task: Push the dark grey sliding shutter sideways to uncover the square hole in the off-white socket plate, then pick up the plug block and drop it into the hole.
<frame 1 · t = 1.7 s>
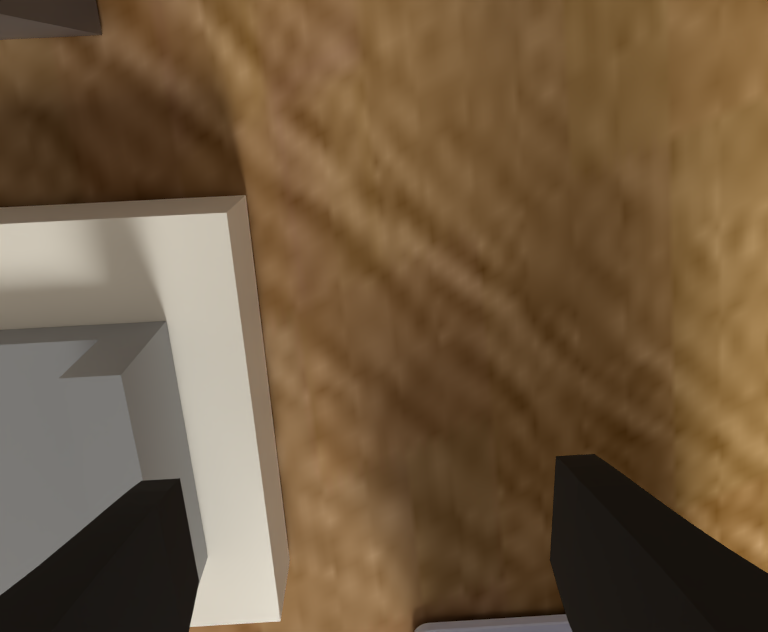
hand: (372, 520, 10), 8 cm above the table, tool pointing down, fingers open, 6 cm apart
socket plate: (83, 408, 18), on the table
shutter: (32, 490, 15), point 4 cm above the table, slide at 0.0 cm
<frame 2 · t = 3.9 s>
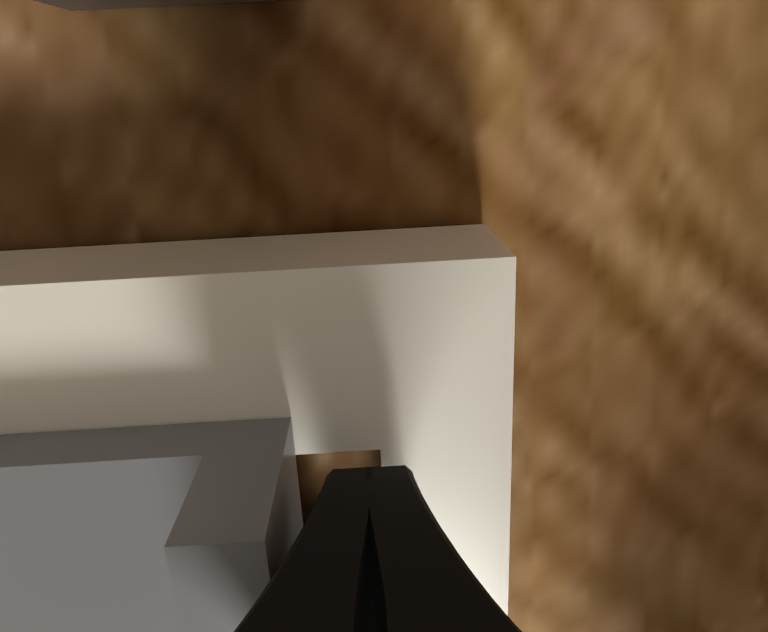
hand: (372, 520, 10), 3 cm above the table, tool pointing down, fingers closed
socket plate: (237, 504, 14), on the table
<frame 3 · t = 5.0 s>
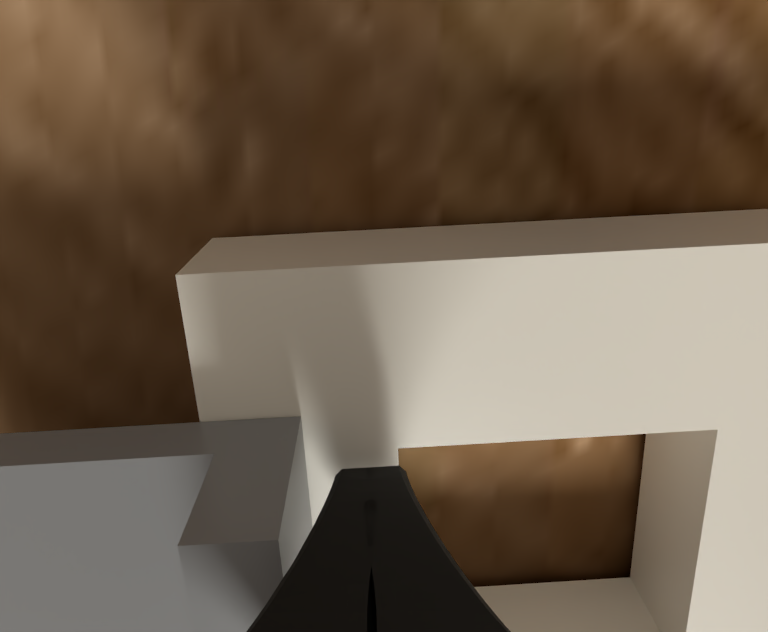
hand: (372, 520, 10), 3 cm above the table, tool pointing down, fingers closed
socket plate: (496, 488, 14), on the table
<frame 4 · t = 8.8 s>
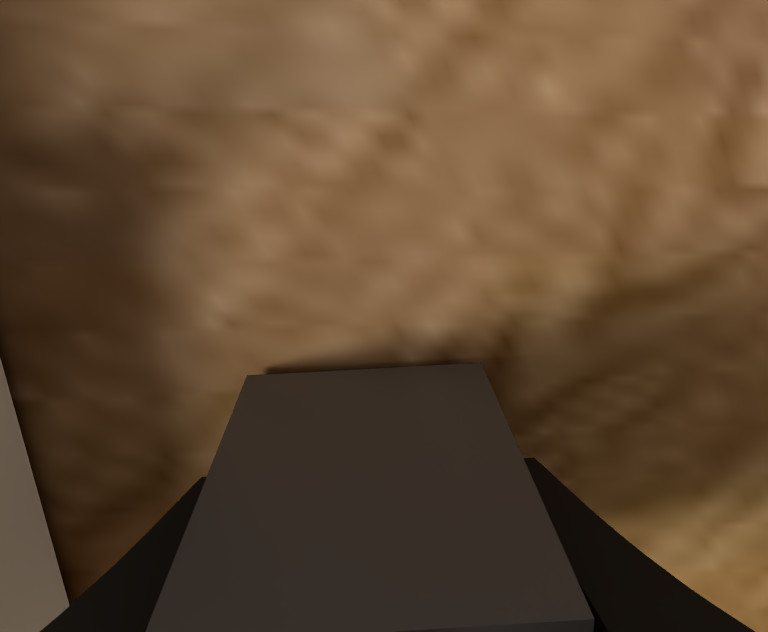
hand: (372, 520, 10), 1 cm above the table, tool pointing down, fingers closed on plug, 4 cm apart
plug: (370, 469, 11), on the table, touching gripper
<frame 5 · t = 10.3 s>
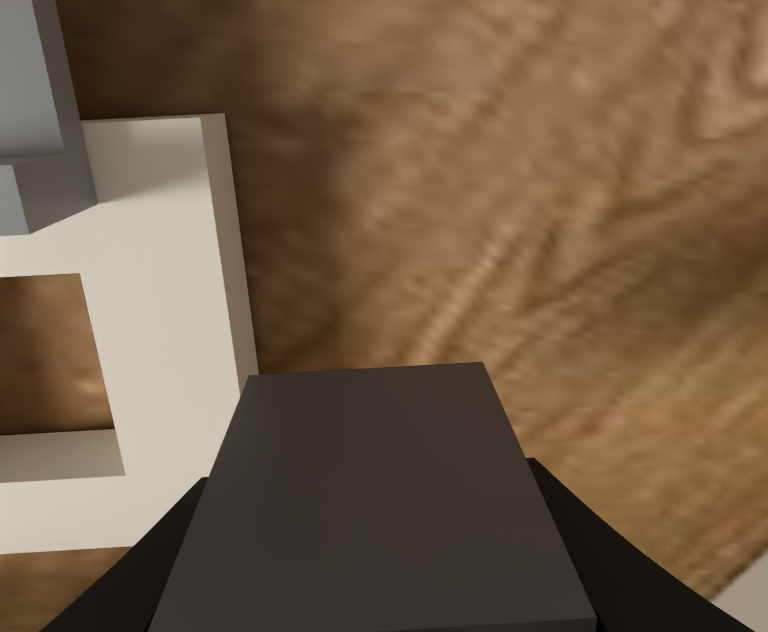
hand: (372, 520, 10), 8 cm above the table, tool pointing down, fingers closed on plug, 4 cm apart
socket plate: (36, 330, 17), on the table
plug: (372, 468, 11), point 7 cm above the table, touching gripper
when the fingers open (4 cm above the table, at t = 12.0 s): plug drops 3 cm, resting in socket plate.
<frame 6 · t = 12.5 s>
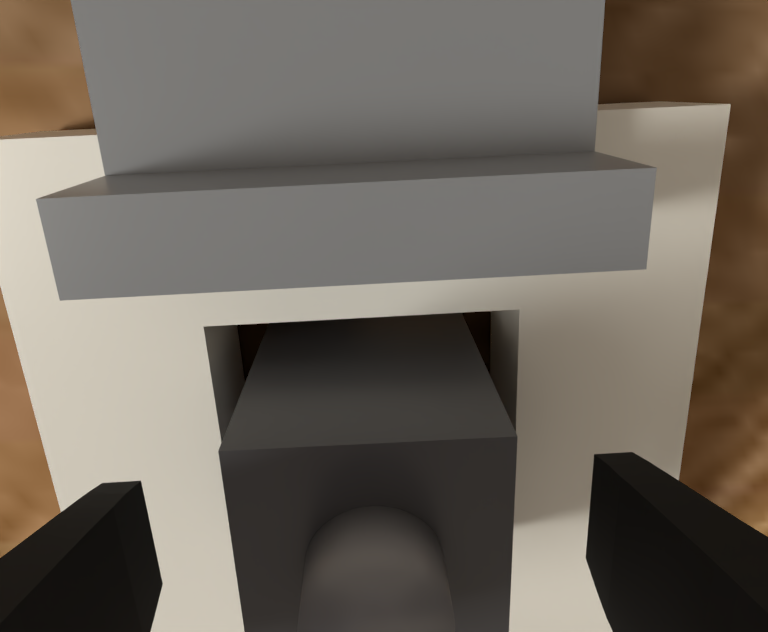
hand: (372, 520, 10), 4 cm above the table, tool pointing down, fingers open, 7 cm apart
socket plate: (367, 373, 14), on the table
plug: (369, 390, 14), resting in socket plate
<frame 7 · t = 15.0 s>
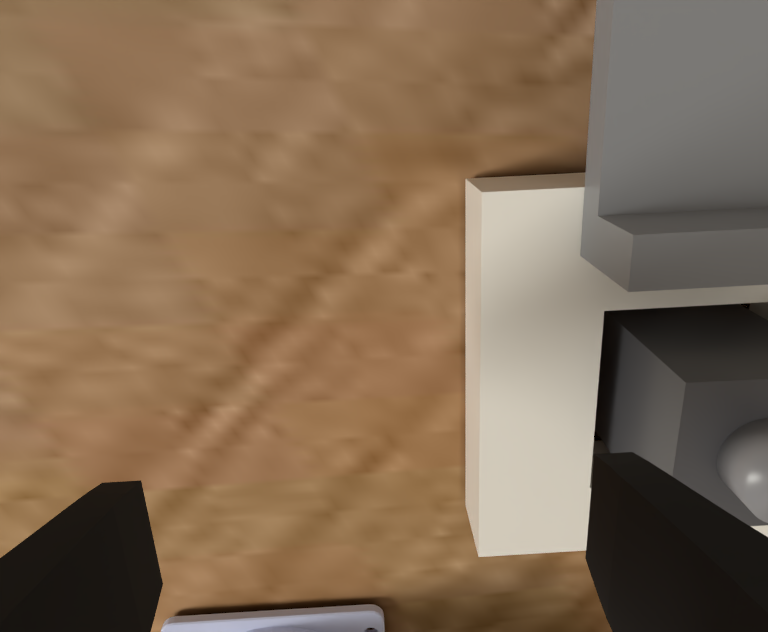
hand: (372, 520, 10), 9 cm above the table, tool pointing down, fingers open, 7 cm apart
socket plate: (656, 347, 19), on the table
plug: (654, 359, 20), resting in socket plate
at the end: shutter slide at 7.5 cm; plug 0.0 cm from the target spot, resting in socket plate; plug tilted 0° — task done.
